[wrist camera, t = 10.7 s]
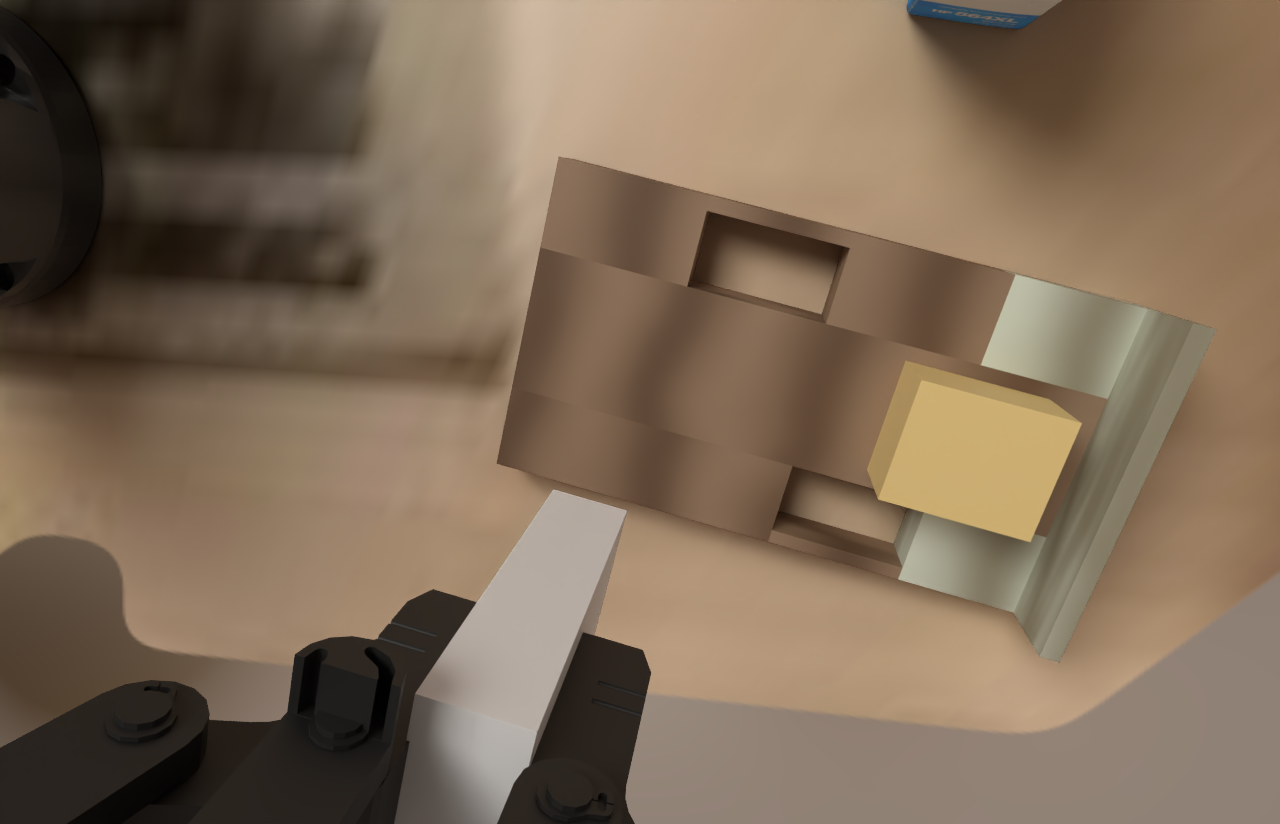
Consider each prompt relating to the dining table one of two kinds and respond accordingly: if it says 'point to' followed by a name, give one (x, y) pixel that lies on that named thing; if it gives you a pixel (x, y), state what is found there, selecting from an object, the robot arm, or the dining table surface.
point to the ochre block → (970, 451)
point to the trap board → (827, 388)
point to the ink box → (983, 11)
